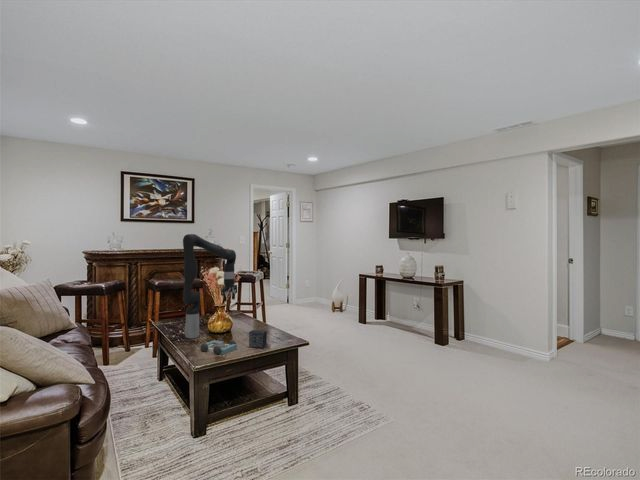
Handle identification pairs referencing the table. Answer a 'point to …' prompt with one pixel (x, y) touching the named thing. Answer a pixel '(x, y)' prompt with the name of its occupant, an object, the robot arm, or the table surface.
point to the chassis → (217, 349)
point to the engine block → (219, 344)
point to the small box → (257, 339)
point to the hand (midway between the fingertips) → (229, 300)
